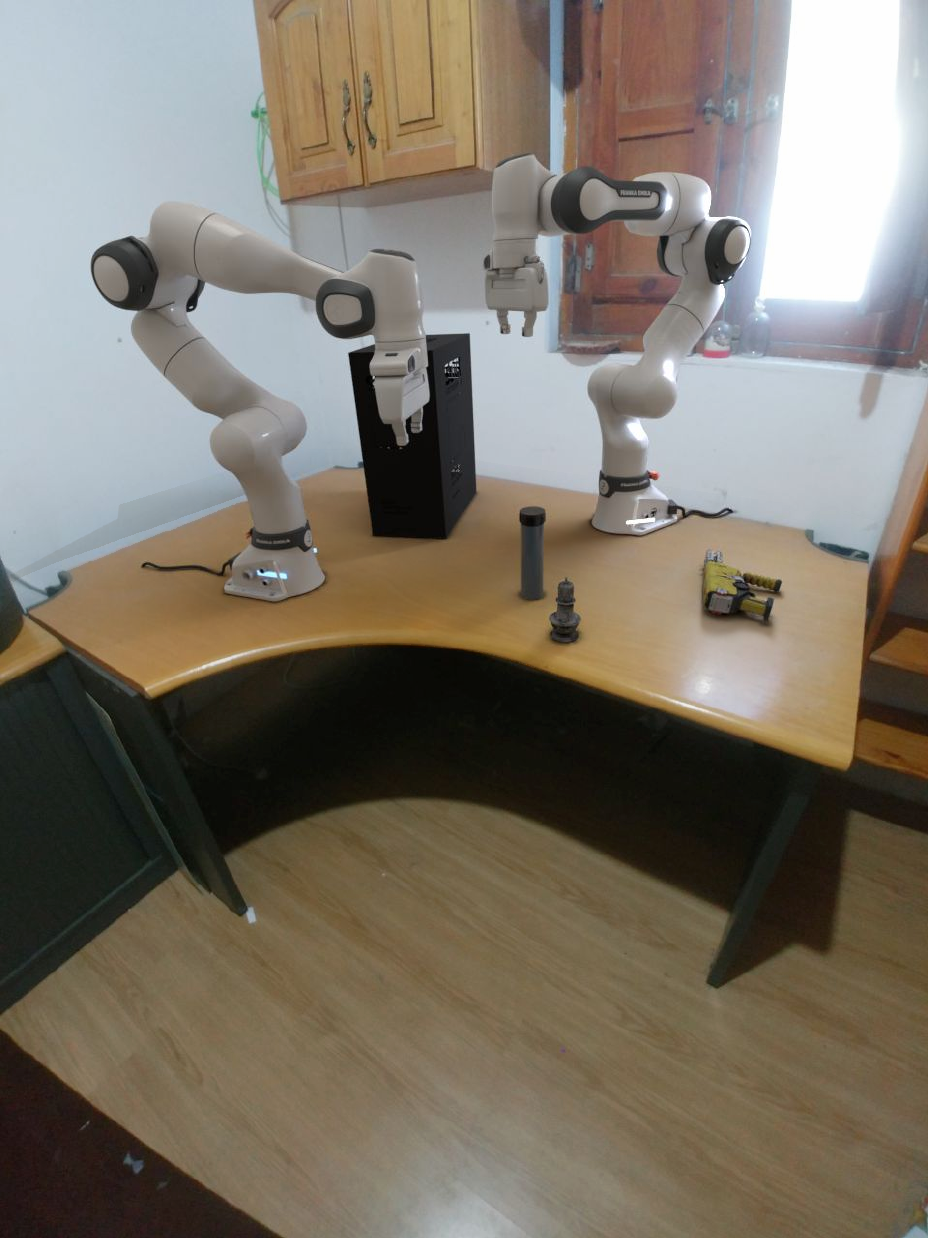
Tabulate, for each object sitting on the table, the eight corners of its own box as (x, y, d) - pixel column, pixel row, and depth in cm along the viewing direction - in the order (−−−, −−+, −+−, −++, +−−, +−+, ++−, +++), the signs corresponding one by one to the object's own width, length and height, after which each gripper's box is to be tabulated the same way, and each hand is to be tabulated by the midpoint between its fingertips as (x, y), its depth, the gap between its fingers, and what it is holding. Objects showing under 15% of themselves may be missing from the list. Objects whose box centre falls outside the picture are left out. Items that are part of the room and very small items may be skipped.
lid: (524, 527, 117) (524, 516, 116) (515, 519, 121) (515, 508, 120) (549, 524, 118) (549, 512, 117) (539, 515, 122) (539, 504, 121)
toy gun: (779, 558, 129) (706, 546, 133) (794, 606, 109) (707, 591, 113) (773, 578, 131) (701, 566, 135) (786, 629, 111) (701, 613, 115)
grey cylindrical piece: (525, 601, 125) (525, 518, 116) (517, 591, 129) (517, 510, 120) (546, 597, 126) (548, 514, 117) (538, 587, 130) (539, 507, 121)
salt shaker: (579, 643, 110) (582, 585, 104) (547, 641, 111) (548, 583, 105) (580, 627, 115) (583, 570, 109) (549, 625, 116) (551, 569, 110)
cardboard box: (446, 538, 156) (432, 350, 134) (372, 535, 161) (348, 352, 138) (476, 491, 188) (469, 333, 165) (414, 490, 192) (399, 335, 170)
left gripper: (401, 350, 114) (409, 425, 121) (365, 366, 97) (376, 452, 104) (434, 349, 113) (439, 425, 120) (403, 365, 96) (411, 452, 103)
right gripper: (557, 254, 111) (556, 336, 118) (505, 258, 127) (506, 331, 134) (528, 255, 109) (527, 339, 116) (478, 260, 125) (481, 333, 132)
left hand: (410, 438), depth 112 cm, fingers open, 8 cm apart
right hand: (516, 335), depth 125 cm, fingers open, 8 cm apart
